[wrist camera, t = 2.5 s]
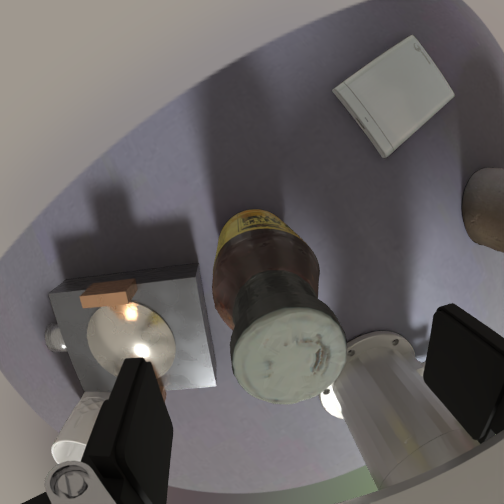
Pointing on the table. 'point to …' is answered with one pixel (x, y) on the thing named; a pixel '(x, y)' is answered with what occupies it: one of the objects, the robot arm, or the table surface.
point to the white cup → (78, 428)
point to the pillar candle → (485, 208)
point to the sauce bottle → (275, 310)
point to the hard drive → (395, 94)
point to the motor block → (135, 327)
